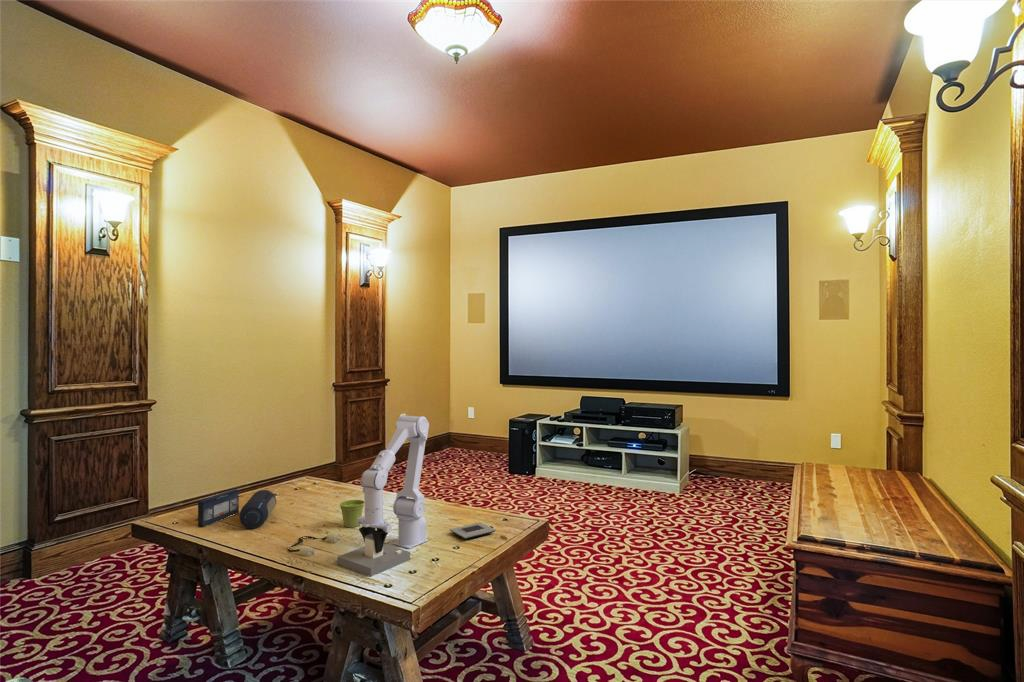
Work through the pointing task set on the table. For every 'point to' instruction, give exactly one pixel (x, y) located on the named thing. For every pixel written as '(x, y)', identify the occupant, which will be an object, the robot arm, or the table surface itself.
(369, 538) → the plug
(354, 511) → the plant pot
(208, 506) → the vhs cassette tape
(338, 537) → the cable
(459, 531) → the electrical outlet
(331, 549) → the table surface
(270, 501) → the portable speaker
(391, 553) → the socket block
